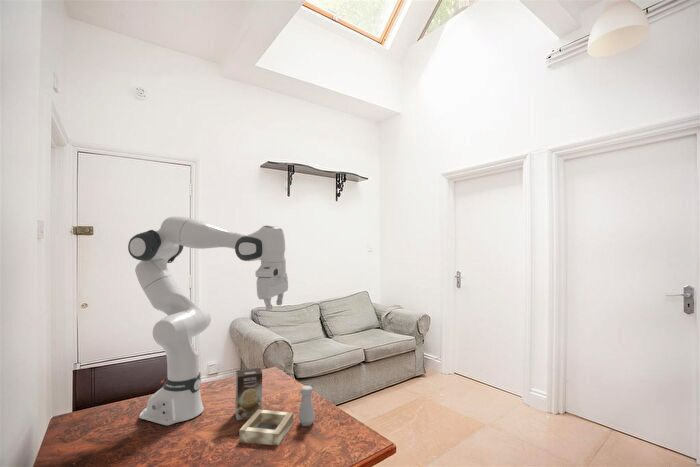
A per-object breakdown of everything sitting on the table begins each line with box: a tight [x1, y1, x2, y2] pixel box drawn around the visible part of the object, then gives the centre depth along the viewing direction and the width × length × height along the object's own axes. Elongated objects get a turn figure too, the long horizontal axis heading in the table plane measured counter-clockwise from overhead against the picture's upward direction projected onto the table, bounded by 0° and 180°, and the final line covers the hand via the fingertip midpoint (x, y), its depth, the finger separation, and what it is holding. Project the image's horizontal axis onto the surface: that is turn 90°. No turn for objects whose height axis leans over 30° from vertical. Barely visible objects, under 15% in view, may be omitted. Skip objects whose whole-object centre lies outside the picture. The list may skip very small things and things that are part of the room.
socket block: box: [238, 409, 294, 446], centre depth 118 cm, size 14×14×4 cm
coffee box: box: [235, 367, 263, 421], centre depth 130 cm, size 9×6×16 cm
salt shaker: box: [297, 385, 315, 427], centre depth 123 cm, size 6×6×13 cm
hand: (274, 307), depth 126 cm, fingers open, 8 cm apart
